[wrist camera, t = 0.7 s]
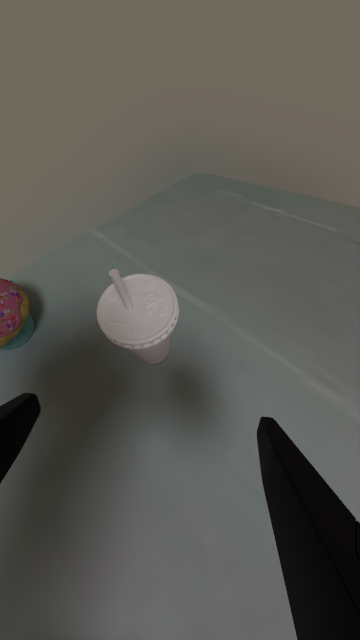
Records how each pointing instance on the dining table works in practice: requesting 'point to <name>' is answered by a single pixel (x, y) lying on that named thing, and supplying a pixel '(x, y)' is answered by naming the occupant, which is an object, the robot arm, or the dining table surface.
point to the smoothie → (139, 315)
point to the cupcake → (14, 316)
